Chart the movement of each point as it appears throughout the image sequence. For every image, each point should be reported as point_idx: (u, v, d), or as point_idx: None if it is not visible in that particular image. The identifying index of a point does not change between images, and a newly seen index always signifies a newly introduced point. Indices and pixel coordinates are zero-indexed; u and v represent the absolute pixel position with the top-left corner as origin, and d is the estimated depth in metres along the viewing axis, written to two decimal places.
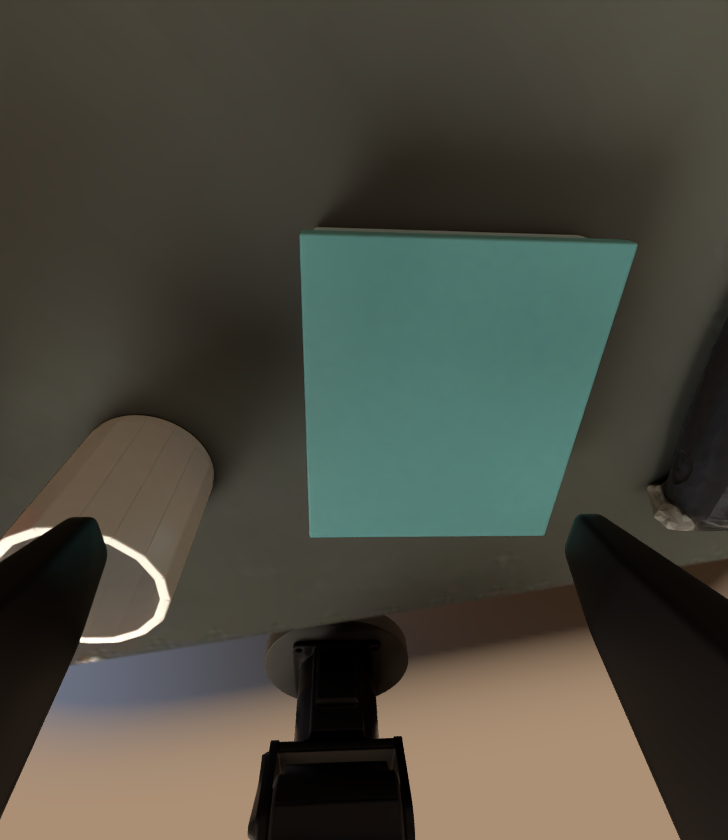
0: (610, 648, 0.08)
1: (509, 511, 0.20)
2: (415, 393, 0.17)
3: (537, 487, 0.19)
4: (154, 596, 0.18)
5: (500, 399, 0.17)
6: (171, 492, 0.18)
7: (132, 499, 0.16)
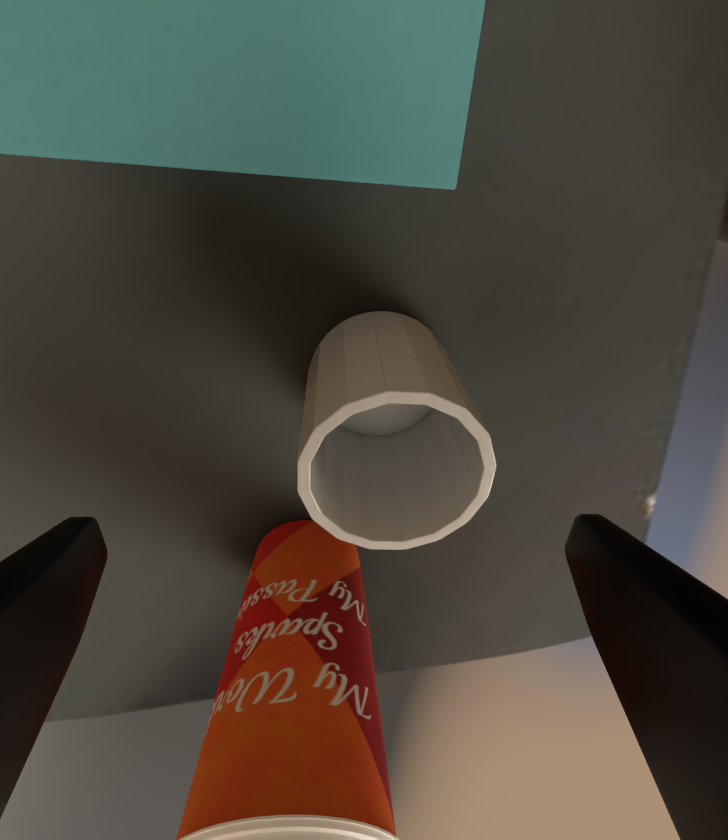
0: (610, 648, 0.08)
1: None
2: None
3: None
4: None
5: None
6: (342, 359, 0.15)
7: (316, 399, 0.15)
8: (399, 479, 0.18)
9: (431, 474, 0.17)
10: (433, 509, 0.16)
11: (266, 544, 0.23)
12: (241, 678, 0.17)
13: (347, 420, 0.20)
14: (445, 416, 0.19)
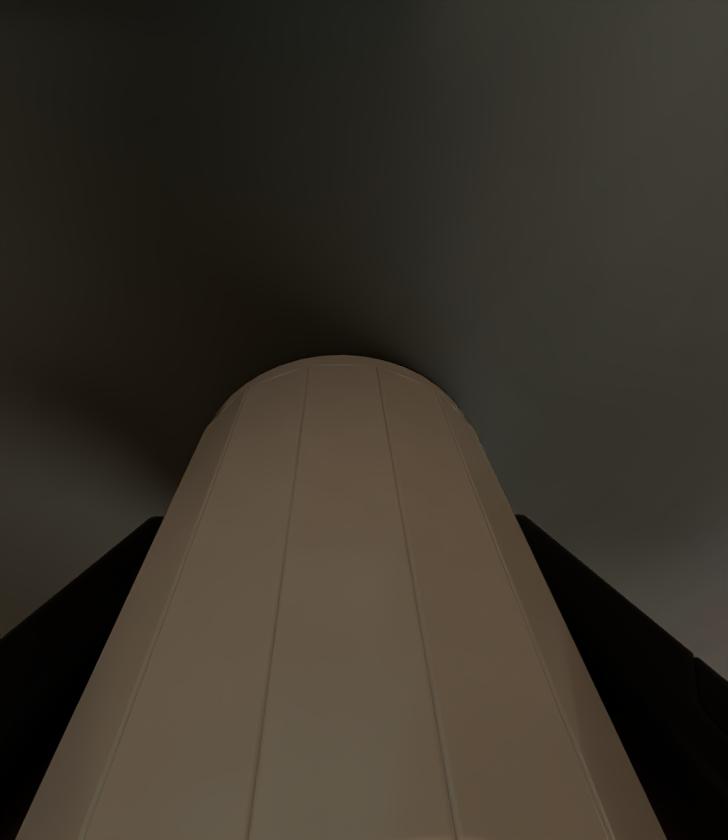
0: None
1: None
2: None
3: None
4: None
5: None
6: (196, 522, 0.05)
7: (94, 675, 0.05)
8: None
9: None
10: None
11: None
12: None
13: None
14: None
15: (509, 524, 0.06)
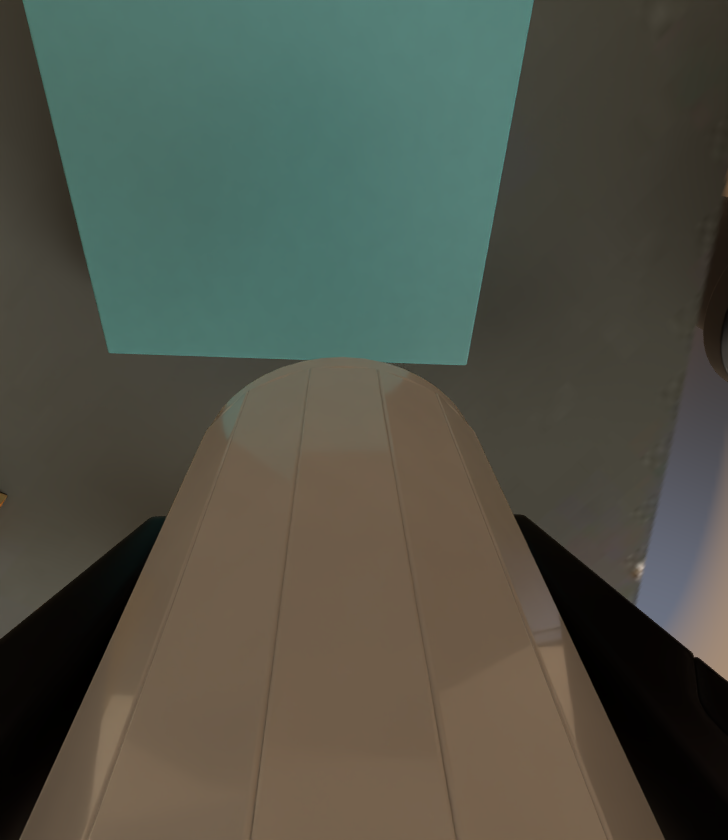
0: None
1: (466, 64, 0.12)
2: (258, 238, 0.14)
3: (421, 13, 0.12)
4: None
5: (259, 114, 0.13)
6: (197, 524, 0.05)
7: (96, 677, 0.05)
8: None
9: None
10: None
11: None
12: None
13: None
14: None
15: (509, 526, 0.06)
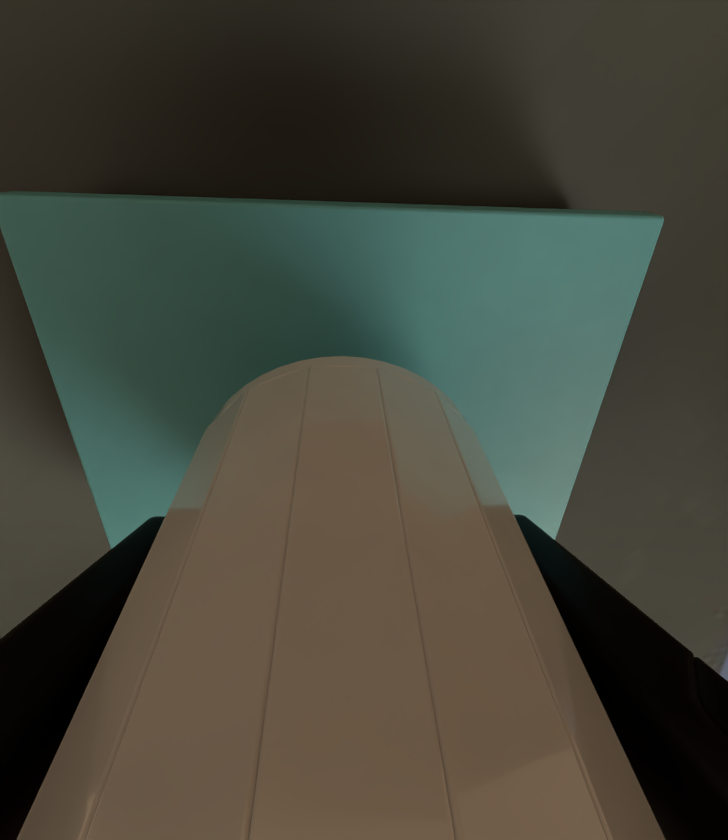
0: None
1: (566, 312, 0.10)
2: None
3: (514, 265, 0.09)
4: None
5: None
6: (196, 523, 0.05)
7: (95, 676, 0.05)
8: None
9: None
10: None
11: None
12: None
13: None
14: None
15: (509, 525, 0.06)
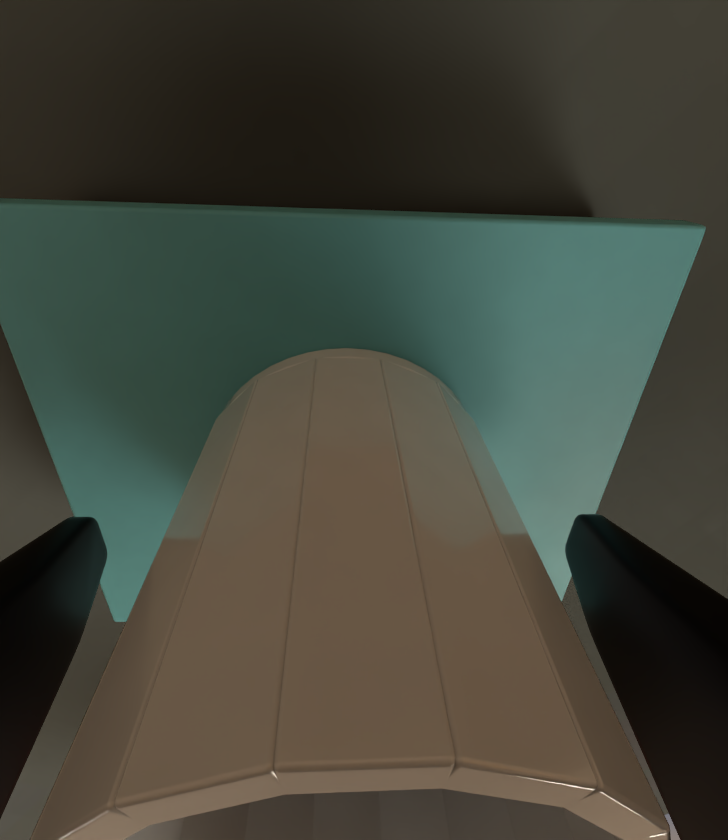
0: (610, 648, 0.08)
1: (594, 330, 0.09)
2: None
3: (538, 279, 0.08)
4: None
5: None
6: (213, 501, 0.06)
7: None
8: None
9: None
10: None
11: None
12: None
13: None
14: None
15: (506, 505, 0.07)
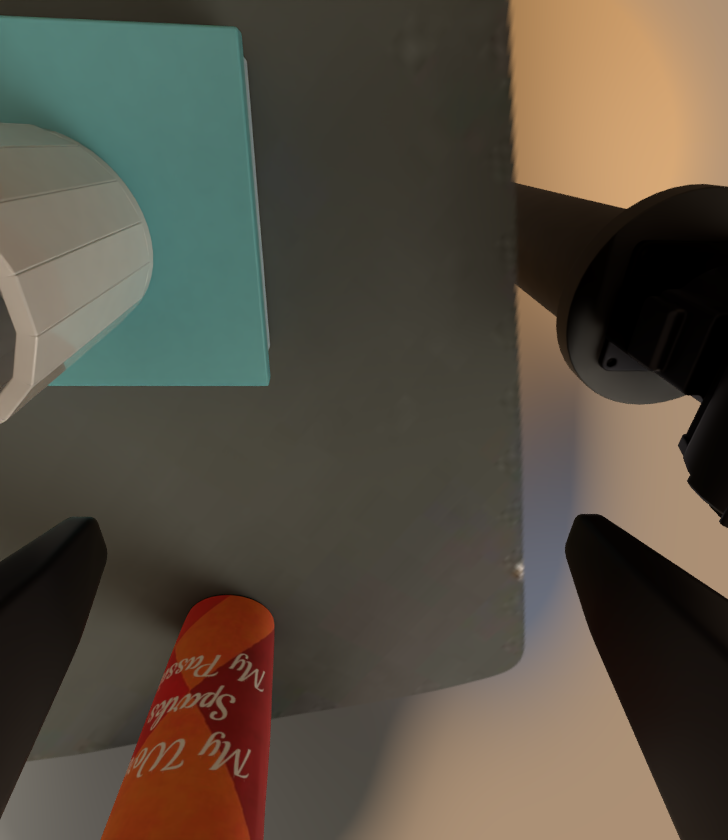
0: (610, 648, 0.08)
1: (191, 111, 0.13)
2: None
3: (135, 68, 0.13)
4: None
5: None
6: None
7: None
8: None
9: None
10: None
11: (189, 618, 0.28)
12: (146, 747, 0.21)
13: None
14: None
15: (47, 172, 0.11)
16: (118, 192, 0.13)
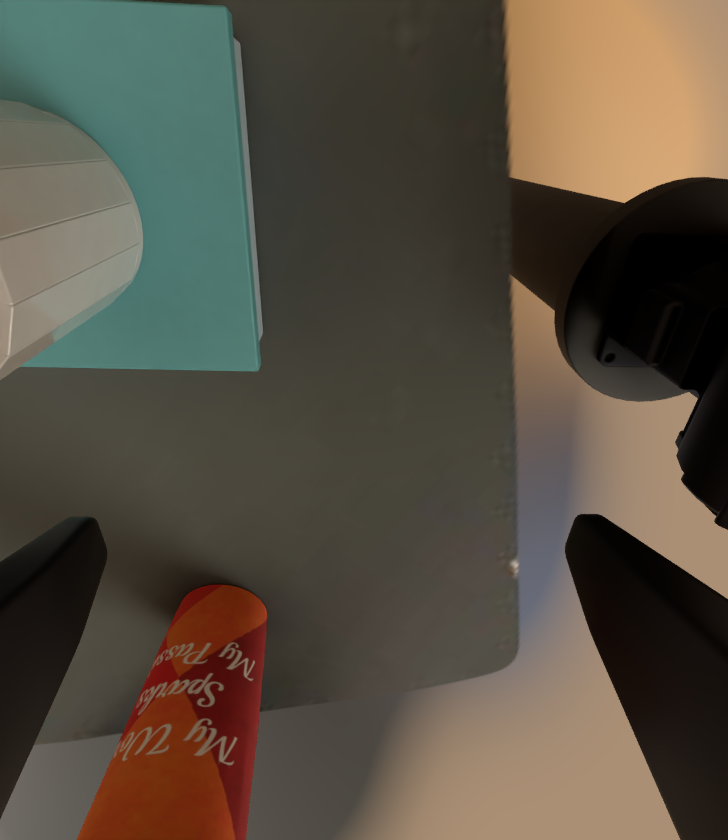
0: (610, 648, 0.08)
1: (180, 91, 0.13)
2: None
3: (124, 47, 0.13)
4: None
5: None
6: None
7: None
8: None
9: None
10: None
11: (182, 606, 0.28)
12: (133, 731, 0.21)
13: None
14: None
15: (31, 146, 0.11)
16: (107, 171, 0.13)
